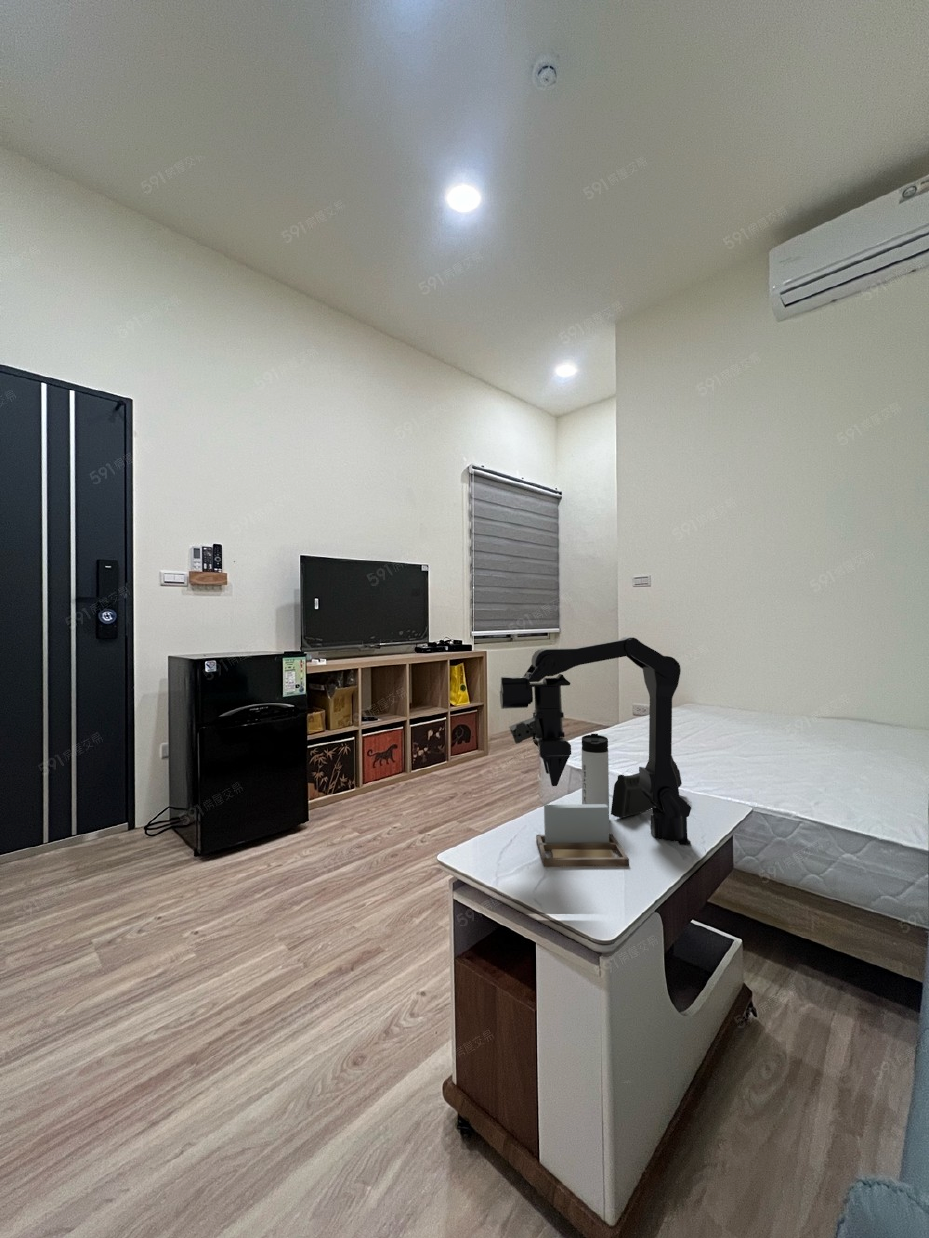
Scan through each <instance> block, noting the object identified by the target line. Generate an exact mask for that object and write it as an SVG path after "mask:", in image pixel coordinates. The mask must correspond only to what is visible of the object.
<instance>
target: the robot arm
mask: <svg viewBox="0 0 929 1238" xmlns="http://www.w3.org/2000/svg"><path fill="white" fill-rule="evenodd" d="M623 657H625V658H626V657H627V658H628V659H629V660H630V661H631V662H632V663H633V664H635V665H636V666H637V667H638V668H640V669H642V672H643V673H642V674H643V680H644V684H645V686H646V690H647V692H648V695H649V711H648V712H649V714H648V715H649V716H648V717H649V718H648V719H649V720H648V721H649V725H648V726H649V728H648V729H649V730H648V734H649V735H648V760H647V763H646V765H645V767H643V766H639V767H638V773H640V780H639V783H638V785H640V786H641V789H642V792H643V793H644V795H645V796H646V797H648V798H649V799H650V802H651V804H652V805H654V806H655V807H654V808H652V814H651V815H650V820H649V821H650V834H651V836H652V837H654V839H656V840H657V839H658V840H664V841H667V842H677V843H678V844H679V845H684V846H685V845H689V846H690V845H691V844H692V843H691V840H689V839H688V817H689V816H690V814H691V811H692V806H691V805H690V804H689V803H688V802H687V801H685V800H684V799H683V798H682V797H681V796H680V790H679V788H678V783H677V778H676V775H675V773H674V770H673V767H672V763H671V758H672V757H673V755H672V754H673V753H672V751H673V750H672V745H673V743H672V742H673V741H672V740H673V739H672V738H673V737H672V736H673V735H672V734H673V732H672V731H673V697H674V695H675V692H676V691H677V689H678V686H679V682H680V677H681V672H682V671H681V665H680V662H678V661H677V660H676V659H675V658H674V657H672V656H668V655H663V654H661V653H660V652H658V651H656V649H653V648H652V647H649V646H648V645H646V644H644V643H643V642H641V641H640V640H639V639H637V638H635V637H632V636H631V637H628V636H627V637H623V638H620V639H616V640H611V641H610V640H609V641H605V642H599V643H594V644H588V645H584V646H578V647H574V648H573V647H572V648H571V647H570V648H559V647H557V648H556V647H555V648H549V647H548V648H539V649H537V650H535V651H534V653H533V655H532V656H531V664H530V666H529V667H528V669H527V670H526V672H524V674H523V676H515V677H514V676H513V677H510V676H501V677H500V690H499V703H500V709H505V710H506V709H528V708H529V705H531V704H532V703H533V701H534V710H533V711H532V717H531V718H527V719H524V720H522V721H519V722H517V723H515V724H512V725H511V726H509V731H510V733H511V736H512V739H513V740H514V743H515V744H520V743H523V741H525V740H528V739H530V738H531V739H532V743H533V744H534V745H535V746H536V747H537V749H538V754H539V755H538V756H539V757H540V758H541V759H542V762H543V766H544V770H545V773H546V774H548V775H549V780H550V785H551V786H552V787H557V786H559V785H558V784H559V782H560V779H561V777H562V774H563V771H564V770H565V767H566V764H567V762H568V760H569V758H570V757H571V756H572V745H571V744H570V742H569V741H568V740H567V739H566V738H565V736H566V735H565V731H564V730H563V726H564V725H563V718H564V717H565V715H564V713H565V712H564V711H563V709H562V708H563V706H562V705H563V704H562V687H563V686H564V687H565V686H566V687H567V686H571V682H570V681H569V680H568V679H566V677H565V676H564V674H561V673H564V672H567V671H569V670H571V669H573V668H575V667H578V666H582V665H587V664H592V663H596V662H602V661H607V660H613V659H619V658H623ZM553 676H556V677H553ZM541 681H542V682H541ZM533 688H534V690H533Z"/></svg>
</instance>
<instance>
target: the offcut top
mask: <svg viewBox="0 0 929 1238" xmlns="http://www.w3.org/2000/svg"><path fill="white" fill-rule="evenodd" d="M550 852H551V855H552V856H551V858H600V857H616V855H615V853H614V851H612V850H576V849H551V851H550Z"/></svg>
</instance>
